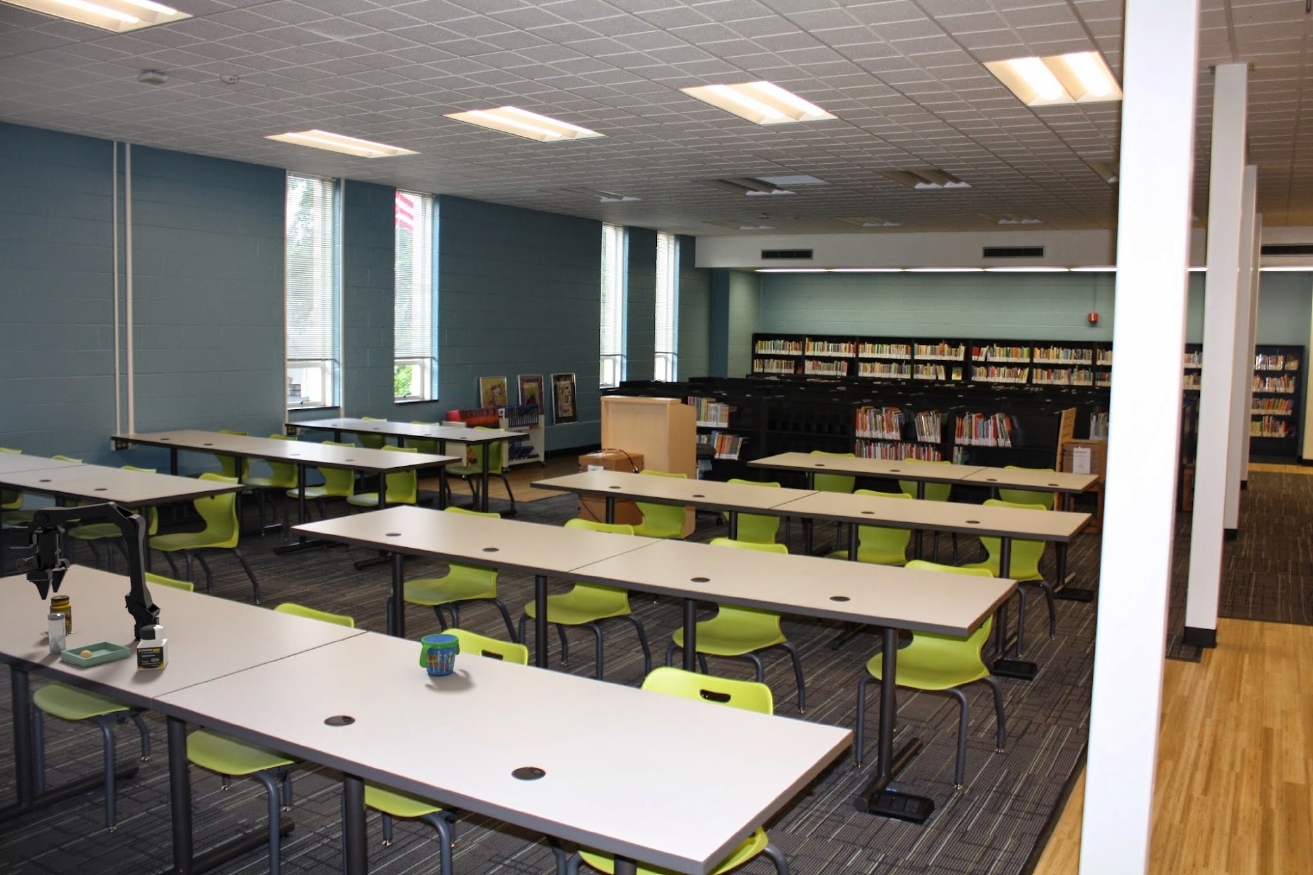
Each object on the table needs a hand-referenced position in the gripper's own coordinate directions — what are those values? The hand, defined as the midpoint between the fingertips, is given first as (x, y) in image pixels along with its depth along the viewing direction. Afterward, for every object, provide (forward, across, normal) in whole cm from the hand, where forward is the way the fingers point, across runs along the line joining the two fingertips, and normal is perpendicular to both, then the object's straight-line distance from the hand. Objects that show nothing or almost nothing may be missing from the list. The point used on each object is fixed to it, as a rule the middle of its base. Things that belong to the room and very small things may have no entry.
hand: (49, 596), depth 321 cm
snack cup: (+15, +50, +121) cm, 132 cm away
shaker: (+15, +13, +6) cm, 21 cm away
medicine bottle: (+15, +31, +38) cm, 52 cm away
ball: (+13, +24, +18) cm, 33 cm away
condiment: (+15, -10, -2) cm, 18 cm away
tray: (+15, +20, +19) cm, 32 cm away
